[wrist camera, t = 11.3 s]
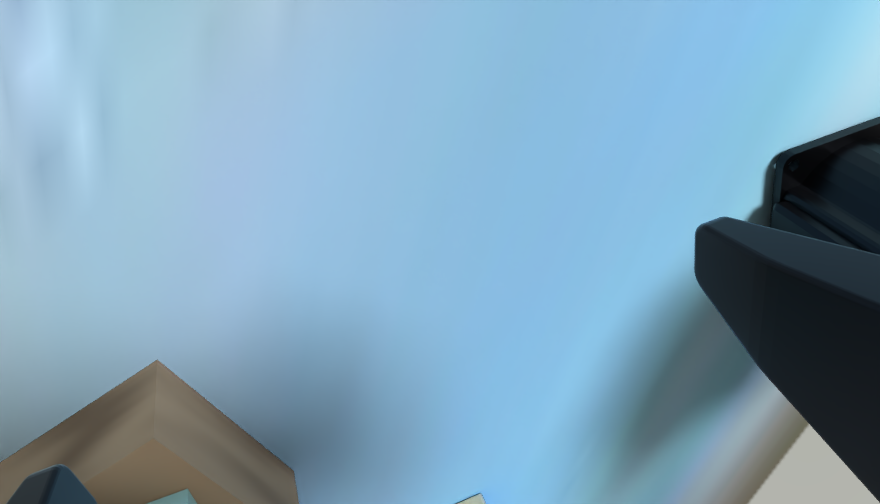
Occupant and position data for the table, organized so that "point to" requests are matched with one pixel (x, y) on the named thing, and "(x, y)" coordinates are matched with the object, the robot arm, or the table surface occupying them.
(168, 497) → the teal block
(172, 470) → the walnut base block
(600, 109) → the table surface
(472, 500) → the stack of blocks
